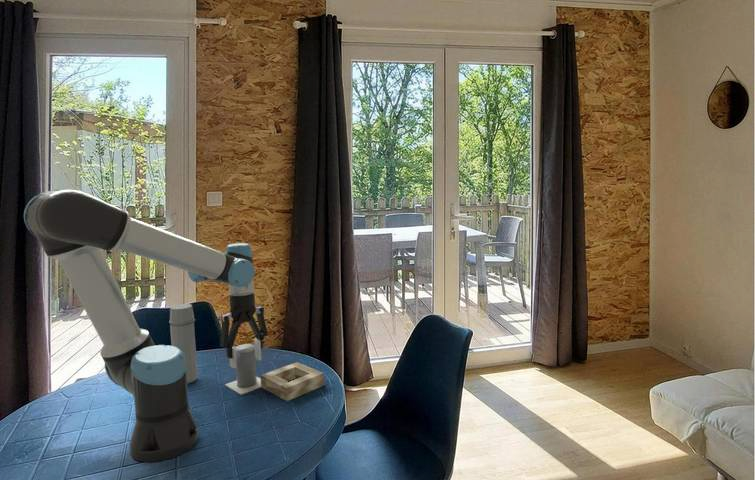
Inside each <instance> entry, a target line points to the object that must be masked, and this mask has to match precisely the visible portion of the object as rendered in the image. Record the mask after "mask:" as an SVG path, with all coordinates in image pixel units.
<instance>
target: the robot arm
mask: <svg viewBox="0 0 755 480" xmlns="http://www.w3.org/2000/svg"><path fill="white" fill-rule="evenodd" d="M23 220H24V224H25V226H26V228H27V229H28V231H29V232H30V233H31V234H32V235H33V236H34V237H36V238H37V240H38V242H39V243H40V245H41V247H42V249H43V250H44V253H45V255H46V256H47V258H50V259H54V260H57V261H58V262H59V265H60V266H61V267H62V270H63V271H64V273H65V275H66V277H67V279H68V280H69V282H70V284H71V285H70V286H71V287H72V288H73V290H74V292H75V295H76V296H77V297H78V299H79V301H80V303H81V305H82V307H83V309H84V311H85V313H86V314H87V316H88V318H89V320H90V322H91V323H92V326H93V328H94V330H95V332H97V335H98V337H99V339H100V341H101V342H102V344H103V345H102V347H101V349H100V356H101V358H102V360H103V363H104V370H105V373H106V375H107V377H108V379H109V380H110V381H111V382H113V384H115V385H117V386H119V387H121V388H122V389H123V390H125V391H127V392H128V393H130V394H131V395H132V396H133V400H134V411H135V412H134V413H135V424H134V427H133V430H132V434H131V438H130V442H129V451H130V453H129V454H130V456H131V458H133V460H136V461H138V462H144V463H155V462H162V461H165V460H169V459H173V458H175V457H177V456H180V455H182V454H183V453H186V452H188V451H189V450H190V449H192V448H193V447H194V446H195V444H196V443H197V442H198V440H199V429H198V425H197V423H196V421H195V418H194V416H193V414H192V412H191V410H190V406H189V394H188V384H187V375H186V367H187V366H186V361H185V356H184V353H183V352H182V351H181V350H180V349H179V348H177V347H175V346H171V345H165V344H158V345H155V342H154V340H153V339H152V336H151V334H150V332H149V330H148V329H144V328H140V326H139V325H138V323H137V320H136V319H135V317H134V314H133V313H132V310H131V309H130V307H129V304H128V302H127V300H126V299H125V296H124V294H123V292H122V290H121V288H120V286H119V284H118V281H117V280H116V278H115V276H114V274H113V271H112V270H111V267H110V265H109V263H108V262H107V259H106V258H105V256H104V253H103V252H102V250H104V251H107V252H110V251H113V250H115V249H116V250H120V251H123V252H125V253H129V254H132V255H136V256H138V257H141V258H144V259H148V260H151V261H154V262H156V263H157V262H158V263H160V264H163V265H167V266H170V267H173V268H175V269H176V268H177V269H180V270H183V271H185V272H187V275H188V277H189V279H190V280H191V281H192V282H193V283H201V282H202V283H205V282H207V281H210V282H215V283H219V284H226V285H228V293H229V294H230V295H229V307H230V310H229V313H226V314H221V316H220V319H221V320H220V321H221V329H220V339H219V347H221V348H224V349H226V350H225V351H226V357H227V359H229V367H230V368H232V369H236V351H235V348H236V346H234V344H235V340H236V338H237V335H238V331H239V329H240V327H242V326H241V325H242V324H244V323H248V325H249V327H250V328H251V330H252V332H253V335H254V336H255V338H254V339H253V345H255V358H256V360H258V361H262V349H263V348H264V346H263V345H264V344H263V341H264V340H265V337H267V336H268V335H269V333H268V329H267V324H266V320H265V312H264V311H265V308H264V307H263V306H259V305H258V306H255V303H256V299H255V298H256V297H255V295H256V294H255V293H254V291H255V284H254V283H255V282H254V281H255V280H254V277H255V272H256V271H255V265H254V259H253V258H254V256H253V249H252V246H251V244H249V243H245V242H244V243H230V244H227V245H226V248H225V249H226V250H225V251H224V252H222V251H219V250H217V249H214V248H212V247H209V246H207V245H203V244H202V243H198V242H196V241H194V240H191V239H188V238H186V237H183V236H180V235H178V234H175V233H173V232H170V231H167V230H164V229H162V228H159V227H156V226H153V225H150V224H148V223H146V222H143V221H140V220H138V219H135V218H133V217H131V216H130V214H129V212H128V211H127V210H125V209H123V208H120V207H117V206H115V205H113V204H111V203H109V202H105V201H104V200H102V199H100V198H98V197H96V196H93V195H91V194H89V193H86V192H84V191H80V190H76V189H62V190H61V189H51V190H45V191H44V192H42V193H41V192H40V193H39V194H37V195H35V196H33V197H32V198H31V199H30V200H29V202H28V203H27V204H26V205H25V208H24V211H23ZM254 314H256V319H257V322H256V319H255V317H254ZM231 318H232V321H231ZM230 321H231V323H230ZM257 323H258V324H257ZM230 324H231V327H230Z"/></svg>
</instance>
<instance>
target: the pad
mask: <svg viewBox="0 0 755 480" xmlns="http://www.w3.org/2000/svg"><path fill="white" fill-rule="evenodd" d="M256 379H257V383H256V384H255V385H254V386H251V387H246V388H241V387H238V386H237V379H236V380H234V381H230V382H228V383H226V384H224V386H225V387H226V388H228V389H230V390H231V391H234V392H235V393H236V394H238V395H240V396H242V395H245V394H247V393H250V392H253V391H255V390H258V389H262V388H261V377H258V376H257V375H256Z"/></svg>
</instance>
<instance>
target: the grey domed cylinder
mask: <svg viewBox="0 0 755 480" xmlns="http://www.w3.org/2000/svg"><path fill="white" fill-rule="evenodd" d="M235 351H236V368H235V369H236V370H235V371H236V380H237V386H238V387H241V388H246V387H251V386H254V385H255V384H256V383H257V379H256V376H257V364H256V363H257V361H256V360H257V359H256V358H255V345H254V343H253V344H252V343H244V344H243V343H242V344H240V345H237V346H235Z"/></svg>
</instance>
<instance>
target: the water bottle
mask: <svg viewBox="0 0 755 480" xmlns="http://www.w3.org/2000/svg"><path fill="white" fill-rule="evenodd" d="M195 321H196V319H195V314H194V309H193V305H192V304H190V303H180V304H175V305H172V306H170V308H169V321H168V323H169V324H170V325H169V328H170V329H169V331H170V333H169V334H170V341H171V343H170V344H171V345H170V346H175V347H177V348H179V349H180V350H181V351H182V352H183V353H184V356H185V361H186V366H187V367H186V375H187V385H188V384H191V383H193V382H195V381H196V380H197V379H198V377H199V375H198V362H197V348H196V337H195V336H196V335H195V334H196V333H195Z"/></svg>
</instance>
